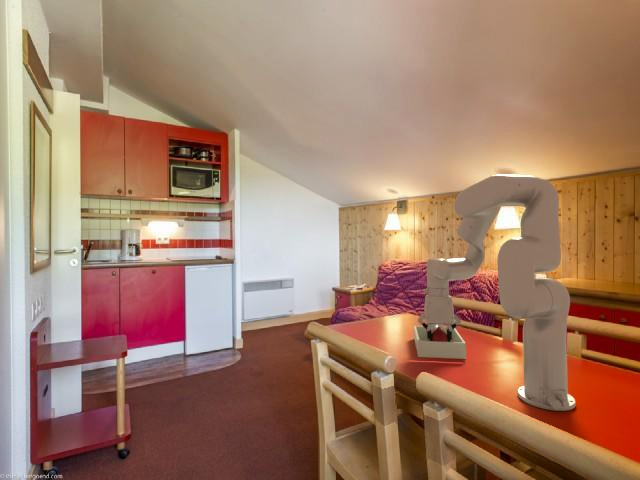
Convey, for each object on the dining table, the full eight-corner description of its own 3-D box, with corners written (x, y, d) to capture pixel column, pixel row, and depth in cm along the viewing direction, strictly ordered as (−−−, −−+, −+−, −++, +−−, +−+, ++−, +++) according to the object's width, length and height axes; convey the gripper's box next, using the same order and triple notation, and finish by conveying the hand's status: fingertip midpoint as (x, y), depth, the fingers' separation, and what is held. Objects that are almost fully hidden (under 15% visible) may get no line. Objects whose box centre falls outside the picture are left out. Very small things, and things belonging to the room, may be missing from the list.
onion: (449, 351, 123) (448, 328, 123) (432, 350, 124) (431, 328, 124) (446, 346, 128) (446, 324, 128) (430, 345, 129) (429, 324, 129)
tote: (466, 360, 119) (465, 343, 119) (418, 358, 122) (417, 341, 122) (454, 341, 140) (454, 326, 140) (414, 340, 143) (413, 325, 143)
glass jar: (445, 345, 133) (444, 322, 133) (428, 345, 134) (427, 322, 134) (442, 340, 139) (442, 318, 139) (426, 340, 141) (425, 318, 141)
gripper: (414, 293, 124) (416, 343, 124) (465, 293, 121) (466, 345, 121) (413, 290, 131) (414, 337, 131) (460, 290, 128) (462, 339, 128)
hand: (439, 340), depth 126 cm, fingers closed on onion, 5 cm apart
